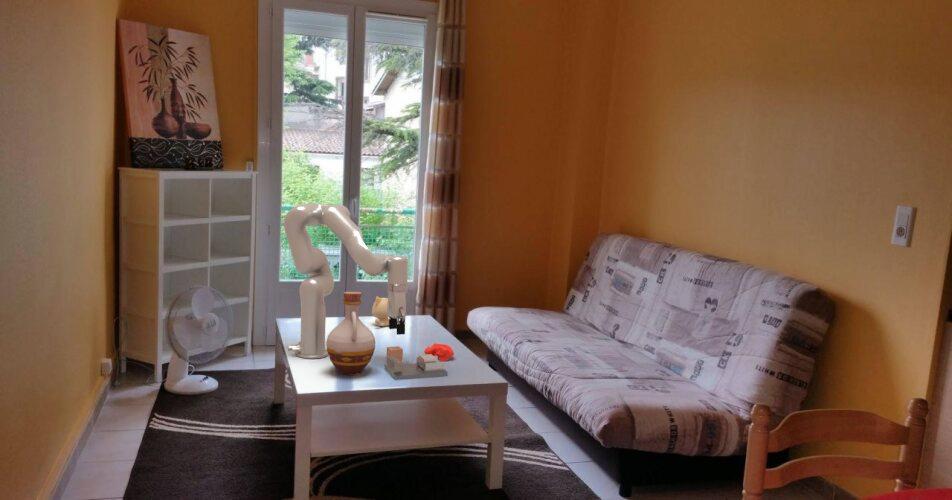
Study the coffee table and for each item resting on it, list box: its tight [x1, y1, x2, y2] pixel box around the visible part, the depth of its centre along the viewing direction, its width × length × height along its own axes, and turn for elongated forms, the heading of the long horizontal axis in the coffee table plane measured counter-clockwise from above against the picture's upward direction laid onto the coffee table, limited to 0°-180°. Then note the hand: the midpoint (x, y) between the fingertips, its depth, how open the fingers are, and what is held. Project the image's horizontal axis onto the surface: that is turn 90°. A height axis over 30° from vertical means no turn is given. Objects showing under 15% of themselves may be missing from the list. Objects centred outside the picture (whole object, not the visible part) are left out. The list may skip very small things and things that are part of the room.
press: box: [384, 356, 448, 381], centre depth 266 cm, size 20×14×6 cm
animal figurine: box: [424, 342, 455, 362], centre depth 290 cm, size 12×15×5 cm
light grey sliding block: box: [418, 354, 437, 370], centre depth 268 cm, size 5×6×4 cm
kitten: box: [371, 295, 397, 327], centre depth 338 cm, size 15×10×15 cm
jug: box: [325, 291, 376, 376], centre depth 260 cm, size 20×18×30 cm
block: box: [385, 345, 404, 363], centre depth 277 cm, size 5×5×6 cm
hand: (396, 331), depth 276 cm, fingers open, 9 cm apart
